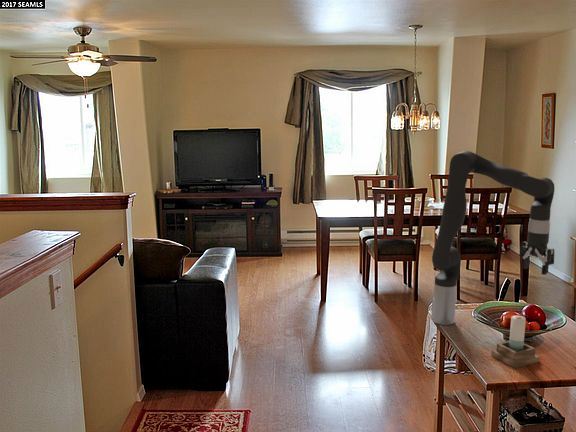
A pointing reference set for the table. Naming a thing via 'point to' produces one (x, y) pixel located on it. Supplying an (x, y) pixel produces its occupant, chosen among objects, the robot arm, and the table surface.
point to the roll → (517, 333)
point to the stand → (515, 355)
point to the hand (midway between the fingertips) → (535, 271)
